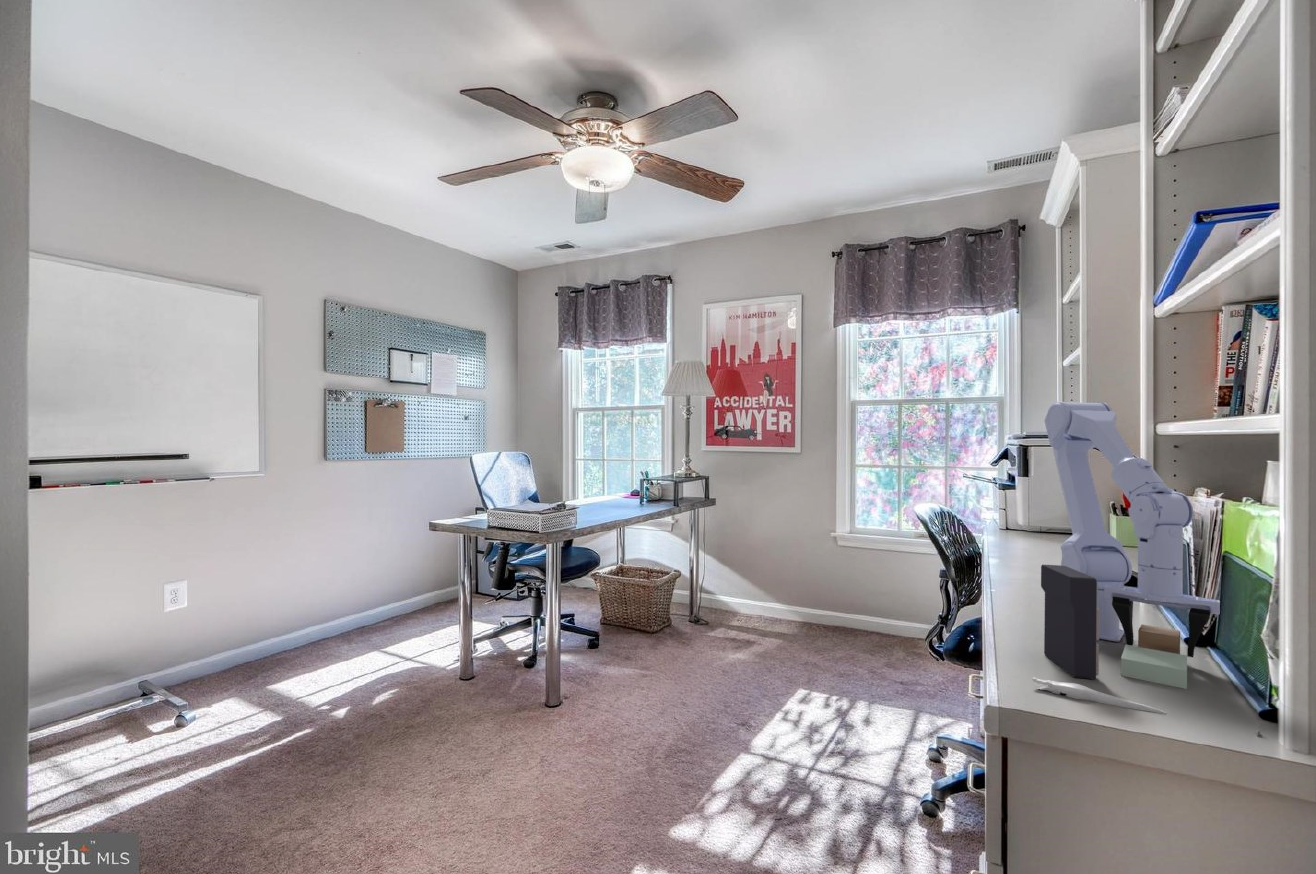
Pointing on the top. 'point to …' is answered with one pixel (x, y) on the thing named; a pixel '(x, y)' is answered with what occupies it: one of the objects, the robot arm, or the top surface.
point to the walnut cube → (1159, 639)
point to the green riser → (1154, 666)
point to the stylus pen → (1091, 695)
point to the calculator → (1071, 620)
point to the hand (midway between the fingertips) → (1159, 649)
